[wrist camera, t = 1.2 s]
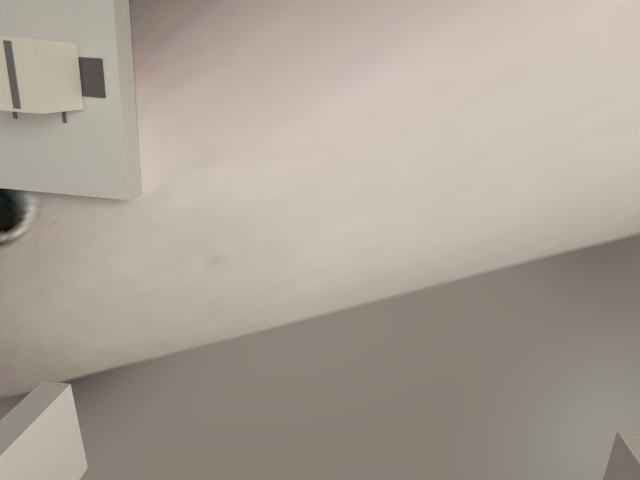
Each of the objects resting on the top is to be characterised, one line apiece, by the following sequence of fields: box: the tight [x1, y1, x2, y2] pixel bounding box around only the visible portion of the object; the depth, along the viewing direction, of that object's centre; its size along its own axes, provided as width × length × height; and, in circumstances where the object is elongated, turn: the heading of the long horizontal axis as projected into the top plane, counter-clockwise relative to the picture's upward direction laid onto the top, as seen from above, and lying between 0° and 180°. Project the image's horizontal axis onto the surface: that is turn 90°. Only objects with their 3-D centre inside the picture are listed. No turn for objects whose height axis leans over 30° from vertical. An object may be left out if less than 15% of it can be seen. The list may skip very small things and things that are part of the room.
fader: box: [0, 36, 83, 114], centre depth 28 cm, size 4×3×4 cm
